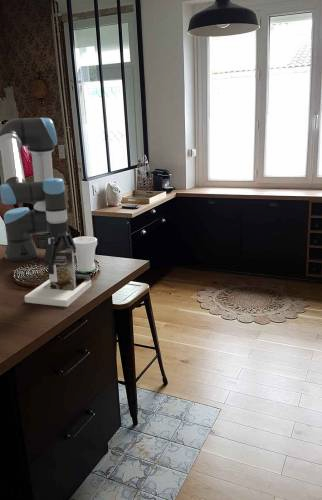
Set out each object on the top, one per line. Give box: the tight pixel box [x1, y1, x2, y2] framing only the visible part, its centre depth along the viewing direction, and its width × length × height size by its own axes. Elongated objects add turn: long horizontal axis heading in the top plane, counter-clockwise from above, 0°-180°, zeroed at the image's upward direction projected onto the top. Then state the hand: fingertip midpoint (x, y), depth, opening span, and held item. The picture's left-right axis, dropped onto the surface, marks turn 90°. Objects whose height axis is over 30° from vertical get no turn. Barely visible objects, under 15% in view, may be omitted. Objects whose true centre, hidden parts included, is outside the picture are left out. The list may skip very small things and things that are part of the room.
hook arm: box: [75, 273, 91, 281], centre depth 169 cm, size 1×16×4 cm, turn 74°
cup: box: [71, 235, 98, 274], centre depth 182 cm, size 11×11×14 cm
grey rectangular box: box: [50, 248, 77, 291], centre depth 162 cm, size 9×6×16 cm
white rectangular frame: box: [24, 278, 92, 308], centre depth 161 cm, size 20×17×2 cm
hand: (62, 275), depth 163 cm, fingers open, 13 cm apart
